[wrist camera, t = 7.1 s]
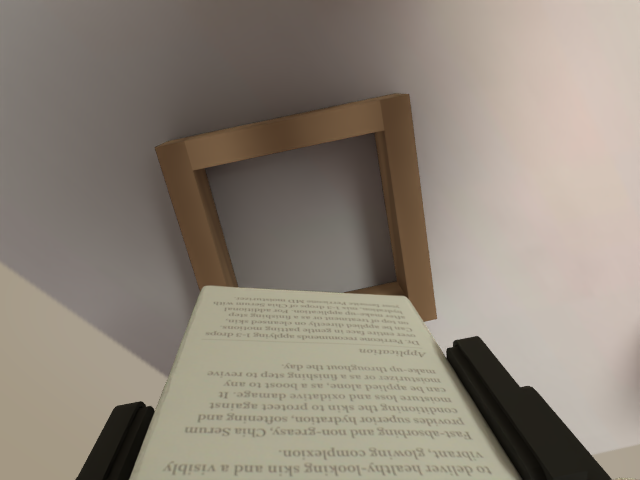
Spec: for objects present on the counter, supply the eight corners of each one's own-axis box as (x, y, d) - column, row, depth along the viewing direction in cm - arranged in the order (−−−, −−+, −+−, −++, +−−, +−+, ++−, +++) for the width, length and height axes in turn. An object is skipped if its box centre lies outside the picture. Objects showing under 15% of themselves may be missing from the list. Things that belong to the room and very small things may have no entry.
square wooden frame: (395, 93, 25) (409, 94, 23) (422, 296, 30) (436, 318, 27) (168, 140, 25) (154, 147, 22) (229, 338, 29) (223, 364, 27)
